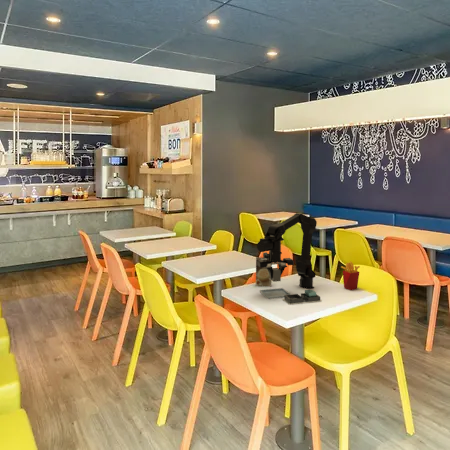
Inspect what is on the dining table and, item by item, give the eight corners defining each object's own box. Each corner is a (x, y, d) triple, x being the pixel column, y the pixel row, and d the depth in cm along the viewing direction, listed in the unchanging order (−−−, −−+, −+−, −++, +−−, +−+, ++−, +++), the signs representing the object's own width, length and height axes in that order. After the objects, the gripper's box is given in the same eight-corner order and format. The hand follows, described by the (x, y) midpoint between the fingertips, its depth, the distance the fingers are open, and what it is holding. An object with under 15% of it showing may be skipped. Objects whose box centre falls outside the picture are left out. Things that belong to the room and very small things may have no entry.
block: (277, 278, 232) (277, 267, 231) (280, 281, 227) (280, 270, 226) (270, 279, 231) (270, 268, 230) (273, 281, 226) (273, 270, 225)
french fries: (359, 289, 238) (360, 262, 236) (348, 291, 235) (348, 264, 233) (348, 285, 246) (349, 259, 244) (337, 287, 243) (337, 261, 241)
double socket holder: (314, 297, 225) (315, 288, 224) (322, 302, 217) (322, 292, 216) (282, 300, 221) (282, 291, 220) (288, 305, 213) (288, 295, 212)
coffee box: (255, 287, 246) (255, 259, 243) (255, 284, 252) (255, 257, 250) (271, 287, 245) (271, 259, 243) (271, 284, 251) (271, 257, 249)
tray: (282, 290, 238) (282, 287, 238) (291, 297, 225) (291, 294, 225) (259, 292, 235) (259, 290, 235) (268, 300, 222) (268, 297, 222)
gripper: (286, 245, 237) (286, 273, 239) (253, 247, 232) (253, 276, 234) (294, 249, 226) (294, 278, 228) (260, 251, 221) (260, 281, 224)
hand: (275, 278), depth 229 cm, fingers closed on block, 4 cm apart
